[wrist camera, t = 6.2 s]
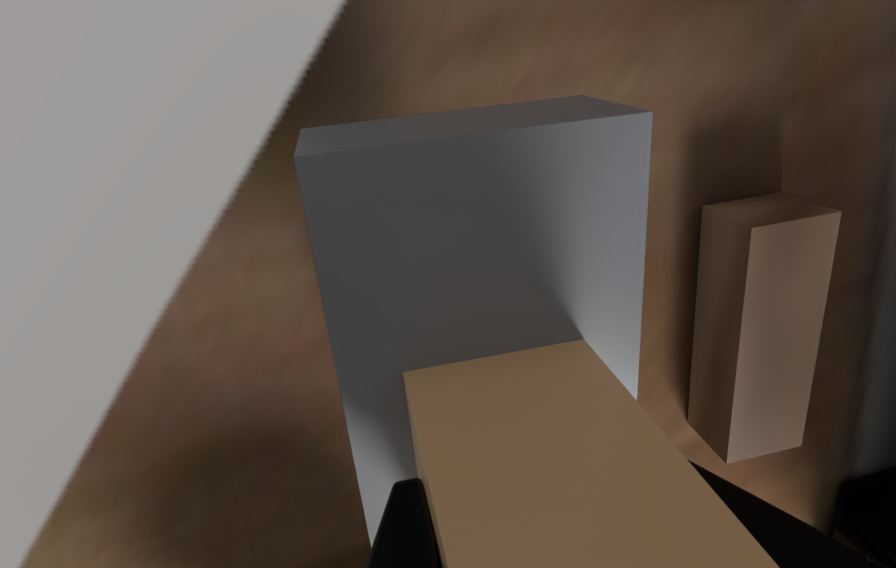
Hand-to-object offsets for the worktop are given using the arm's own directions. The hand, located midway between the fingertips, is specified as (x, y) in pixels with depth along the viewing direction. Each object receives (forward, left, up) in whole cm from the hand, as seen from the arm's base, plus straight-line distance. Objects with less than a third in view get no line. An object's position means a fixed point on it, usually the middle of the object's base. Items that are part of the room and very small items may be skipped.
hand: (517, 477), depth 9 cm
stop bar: (-11, +5, -10) cm, 16 cm away
